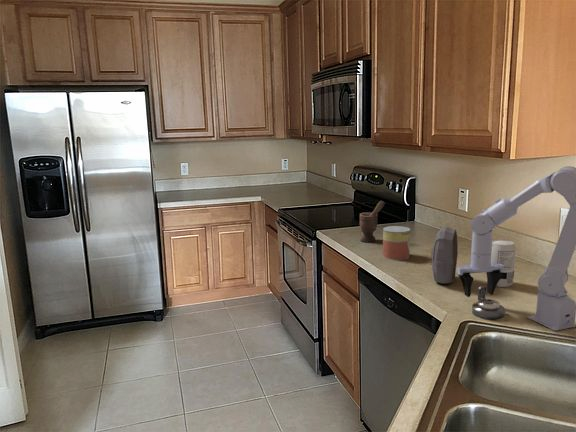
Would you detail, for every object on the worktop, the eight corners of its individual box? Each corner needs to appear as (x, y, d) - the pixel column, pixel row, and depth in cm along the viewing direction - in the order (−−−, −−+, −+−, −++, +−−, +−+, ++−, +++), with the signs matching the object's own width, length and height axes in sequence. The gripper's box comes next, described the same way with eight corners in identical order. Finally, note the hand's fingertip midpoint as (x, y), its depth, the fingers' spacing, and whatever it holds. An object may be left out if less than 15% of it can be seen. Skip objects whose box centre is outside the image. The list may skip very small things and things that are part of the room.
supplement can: (483, 284, 167) (486, 243, 164) (493, 278, 172) (496, 238, 169) (507, 289, 161) (510, 247, 158) (516, 283, 167) (519, 242, 163)
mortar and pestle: (382, 238, 232) (383, 198, 228) (384, 243, 224) (385, 201, 220) (358, 238, 233) (359, 198, 229) (360, 243, 225) (360, 201, 221)
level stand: (511, 316, 139) (511, 310, 139) (486, 321, 136) (486, 315, 136) (489, 306, 148) (489, 299, 147) (465, 310, 145) (465, 303, 144)
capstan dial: (502, 310, 139) (503, 297, 138) (482, 310, 139) (483, 297, 138) (489, 298, 148) (490, 285, 147) (470, 298, 148) (471, 286, 147)
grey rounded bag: (451, 288, 163) (453, 232, 159) (426, 285, 167) (428, 230, 163) (457, 275, 176) (459, 223, 172) (434, 272, 180) (436, 221, 176)
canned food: (410, 260, 196) (411, 232, 194) (382, 259, 198) (382, 231, 196) (409, 252, 207) (409, 226, 205) (382, 252, 209) (383, 225, 207)
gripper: (495, 247, 149) (492, 288, 152) (452, 250, 146) (450, 292, 149) (509, 253, 142) (506, 296, 145) (464, 257, 140) (462, 300, 142)
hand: (478, 294), depth 147 cm, fingers open, 7 cm apart
